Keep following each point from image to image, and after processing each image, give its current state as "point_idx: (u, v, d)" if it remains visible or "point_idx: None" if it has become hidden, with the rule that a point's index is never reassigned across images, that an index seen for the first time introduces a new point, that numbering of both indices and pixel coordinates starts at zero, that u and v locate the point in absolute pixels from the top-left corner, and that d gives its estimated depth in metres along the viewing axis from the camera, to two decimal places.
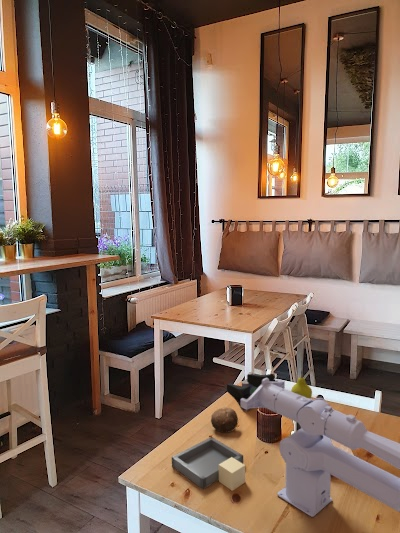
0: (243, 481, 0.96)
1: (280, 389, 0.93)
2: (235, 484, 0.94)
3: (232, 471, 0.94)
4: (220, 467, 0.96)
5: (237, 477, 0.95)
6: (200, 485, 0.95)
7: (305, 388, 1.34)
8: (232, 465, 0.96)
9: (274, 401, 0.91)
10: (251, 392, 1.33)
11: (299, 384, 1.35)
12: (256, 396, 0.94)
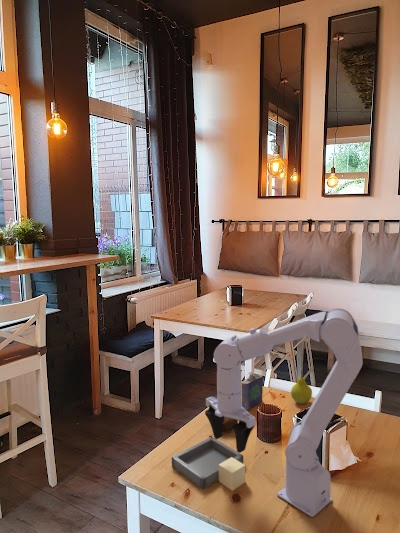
0: (243, 481, 0.96)
1: (220, 394, 0.93)
2: (235, 484, 0.94)
3: (232, 471, 0.94)
4: (220, 467, 0.96)
5: (237, 477, 0.95)
6: (200, 485, 0.95)
7: (305, 388, 1.34)
8: (232, 465, 0.96)
9: (234, 394, 0.92)
10: (251, 392, 1.33)
11: (299, 384, 1.35)
12: (237, 415, 0.92)
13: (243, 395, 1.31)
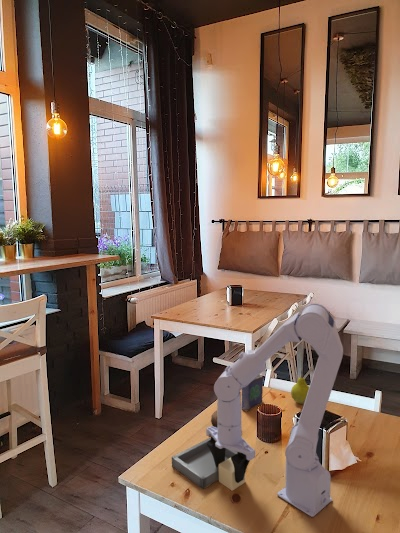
0: (243, 481, 0.96)
1: (220, 426, 0.94)
2: (235, 484, 0.94)
3: (232, 471, 0.94)
4: (220, 467, 0.96)
5: None
6: (200, 485, 0.95)
7: (305, 388, 1.34)
8: (232, 465, 0.96)
9: (234, 426, 0.93)
10: (251, 392, 1.33)
11: (299, 384, 1.35)
12: (237, 446, 0.93)
13: (243, 395, 1.31)
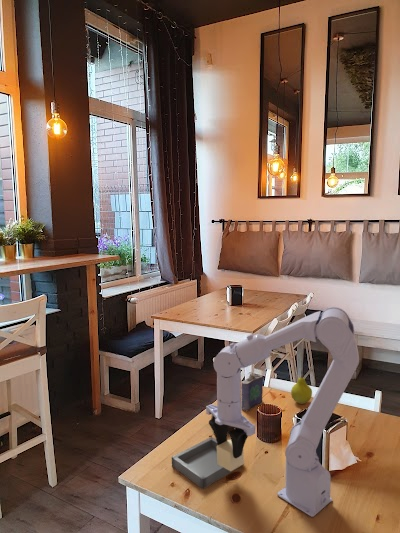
0: (242, 462, 0.96)
1: (220, 402, 0.93)
2: (233, 464, 0.94)
3: (230, 451, 0.94)
4: (218, 448, 0.96)
5: None
6: (200, 485, 0.95)
7: (305, 388, 1.34)
8: (230, 446, 0.96)
9: (234, 403, 0.92)
10: (251, 392, 1.33)
11: (299, 384, 1.35)
12: (237, 423, 0.93)
13: (243, 395, 1.31)
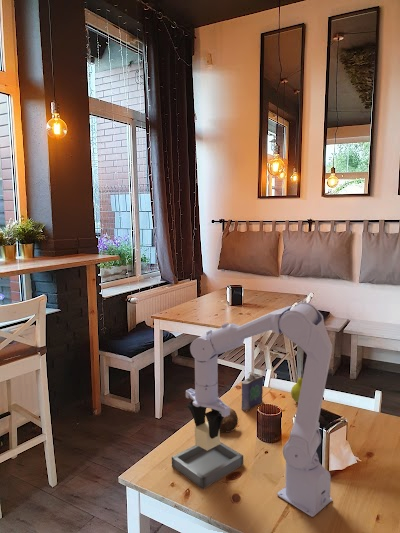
0: (218, 442, 1.02)
1: (197, 386, 0.99)
2: (210, 444, 1.00)
3: (207, 431, 1.00)
4: (196, 429, 1.02)
5: (211, 438, 1.00)
6: (200, 485, 0.95)
7: None
8: (207, 427, 1.02)
9: (210, 386, 0.98)
10: (251, 392, 1.33)
11: (299, 384, 1.35)
12: (213, 405, 0.98)
13: (243, 395, 1.31)
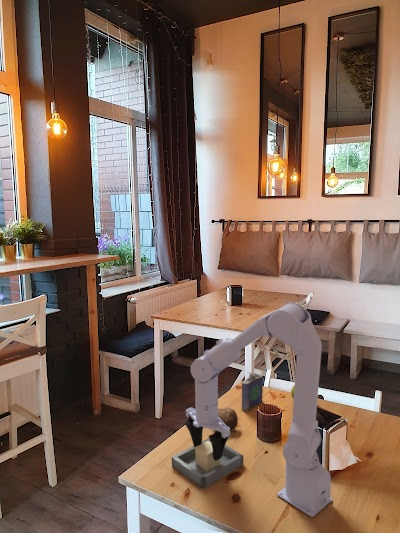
0: (218, 463, 1.03)
1: (198, 406, 1.00)
2: (210, 465, 1.01)
3: (207, 453, 1.00)
4: (197, 450, 1.02)
5: (212, 459, 1.01)
6: (200, 485, 0.95)
7: None
8: (208, 448, 1.02)
9: (211, 406, 0.99)
10: (251, 392, 1.33)
11: None
12: (213, 425, 0.99)
13: (243, 395, 1.31)
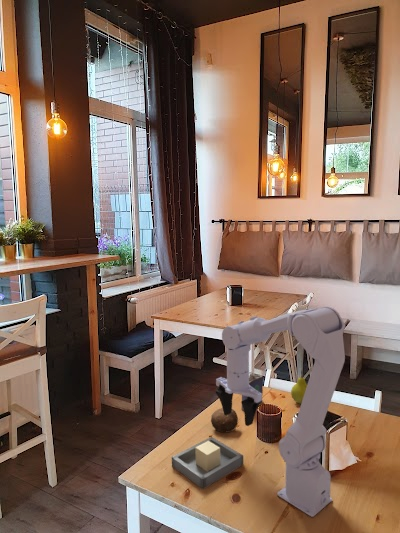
0: (218, 463, 1.03)
1: (230, 373, 1.03)
2: (210, 465, 1.01)
3: (207, 453, 1.00)
4: (197, 450, 1.02)
5: (212, 459, 1.01)
6: (200, 485, 0.95)
7: (305, 388, 1.34)
8: (208, 448, 1.02)
9: (243, 373, 1.02)
10: None
11: (299, 384, 1.35)
12: (245, 392, 1.02)
13: None
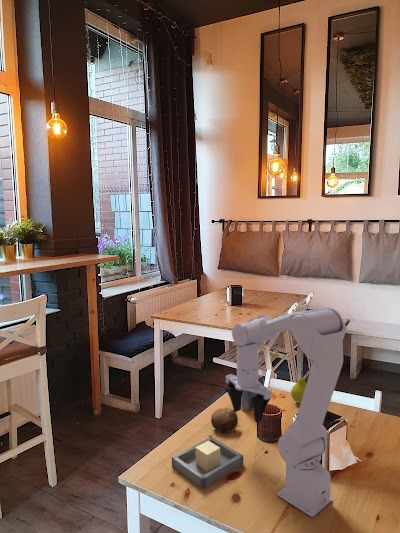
0: (218, 463, 1.03)
1: (240, 371, 1.04)
2: (210, 465, 1.01)
3: (207, 453, 1.00)
4: (197, 450, 1.02)
5: (212, 459, 1.01)
6: (200, 485, 0.95)
7: None
8: (208, 448, 1.02)
9: (252, 370, 1.03)
10: (251, 392, 1.33)
11: (299, 384, 1.35)
12: (255, 388, 1.04)
13: (243, 395, 1.31)
